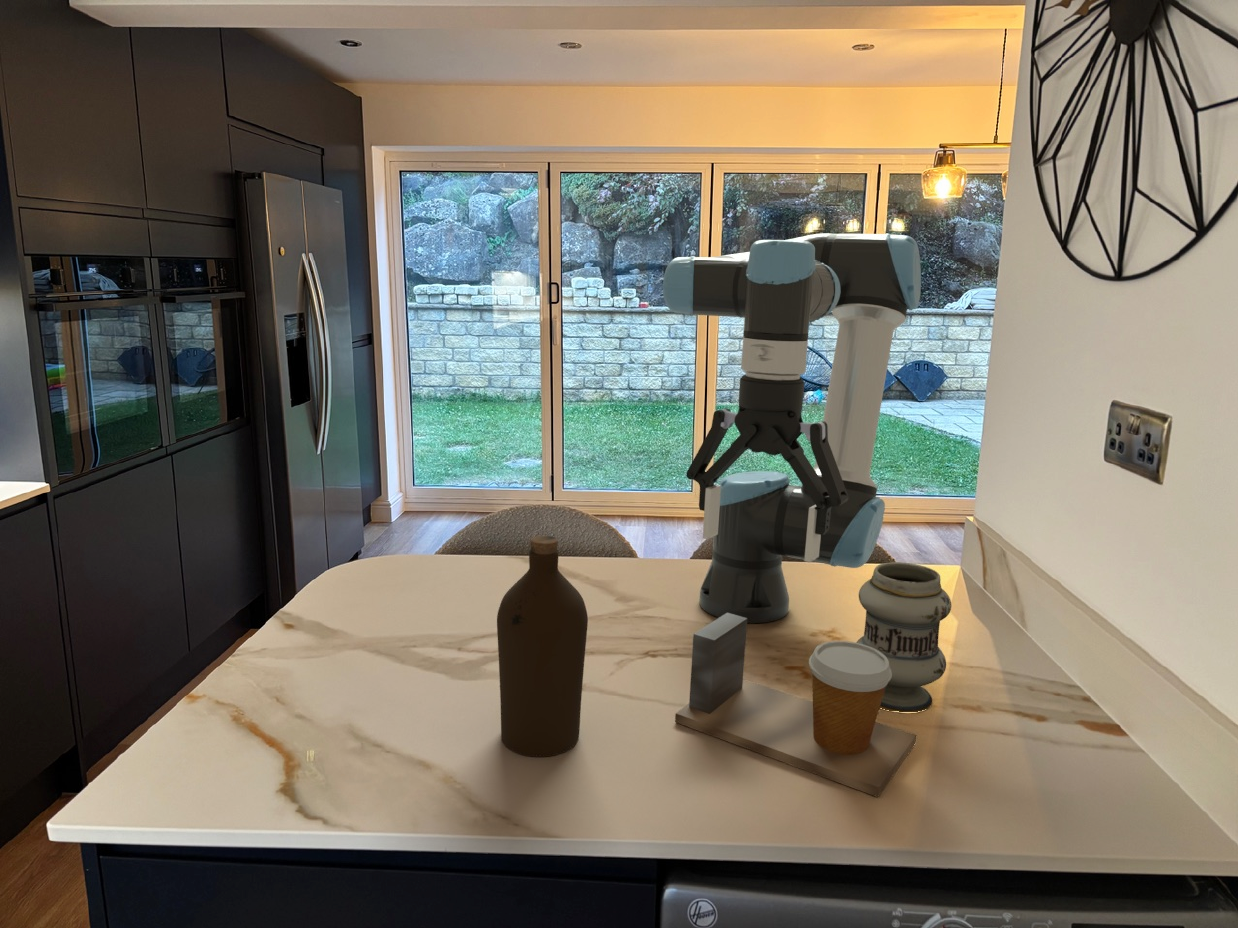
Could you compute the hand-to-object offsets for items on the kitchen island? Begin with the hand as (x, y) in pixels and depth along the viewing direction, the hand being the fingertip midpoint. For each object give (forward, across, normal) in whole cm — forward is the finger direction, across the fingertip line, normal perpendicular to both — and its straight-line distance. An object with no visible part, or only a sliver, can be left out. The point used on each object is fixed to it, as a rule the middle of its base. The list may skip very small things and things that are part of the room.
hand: (759, 547), depth 108 cm
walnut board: (+23, +7, 0) cm, 24 cm away
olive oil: (+23, -18, -20) cm, 35 cm away
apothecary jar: (+23, +14, +18) cm, 32 cm away
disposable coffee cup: (+23, +13, 0) cm, 26 cm away
